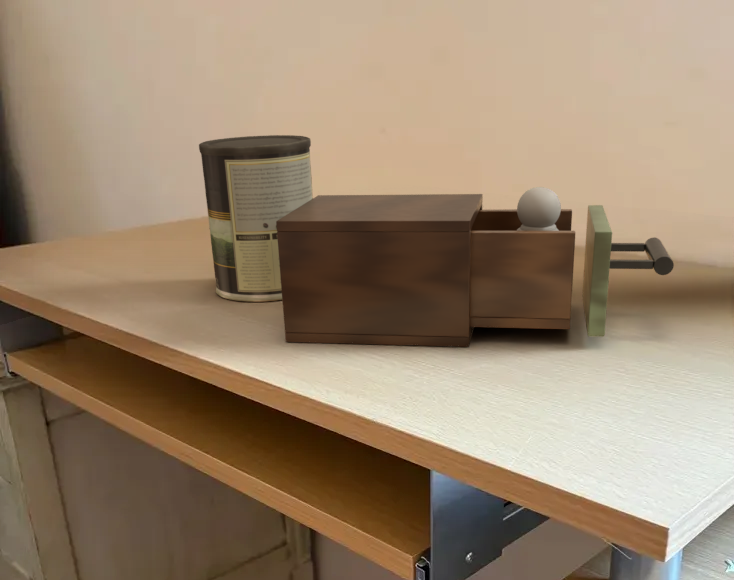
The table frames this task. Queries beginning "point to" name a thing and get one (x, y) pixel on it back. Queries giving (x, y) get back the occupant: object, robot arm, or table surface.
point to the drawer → (546, 270)
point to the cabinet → (378, 269)
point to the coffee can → (252, 208)
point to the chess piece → (538, 210)
